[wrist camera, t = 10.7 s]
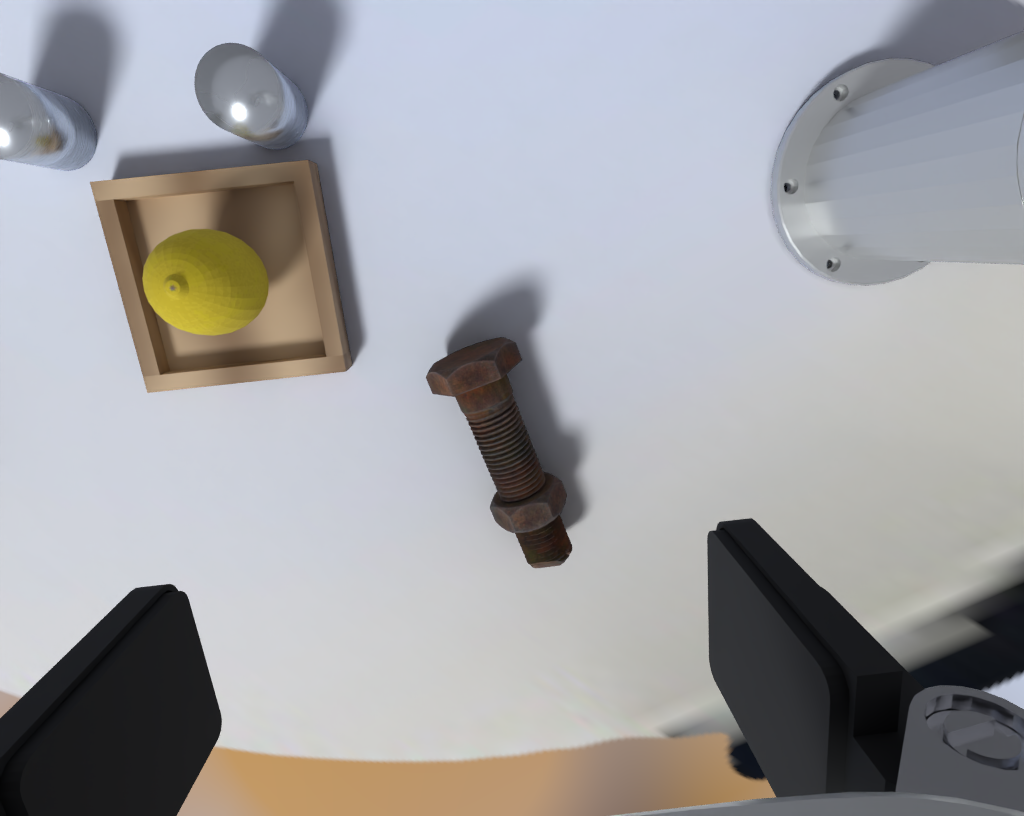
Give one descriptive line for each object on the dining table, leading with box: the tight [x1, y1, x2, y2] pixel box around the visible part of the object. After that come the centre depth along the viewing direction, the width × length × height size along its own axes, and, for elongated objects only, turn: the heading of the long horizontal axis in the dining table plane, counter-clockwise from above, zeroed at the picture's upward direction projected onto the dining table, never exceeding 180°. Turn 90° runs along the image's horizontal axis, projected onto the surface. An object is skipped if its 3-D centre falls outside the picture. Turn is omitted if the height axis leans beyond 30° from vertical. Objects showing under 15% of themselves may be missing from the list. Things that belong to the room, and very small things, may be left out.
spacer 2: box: [195, 43, 308, 150], centre depth 31 cm, size 4×4×5 cm
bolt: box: [426, 337, 572, 568], centre depth 38 cm, size 6×5×15 cm
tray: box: [90, 160, 352, 393], centre depth 35 cm, size 12×12×2 cm
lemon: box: [142, 229, 269, 336], centre depth 32 cm, size 6×6×8 cm
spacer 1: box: [0, 73, 97, 171], centre depth 31 cm, size 4×4×5 cm
